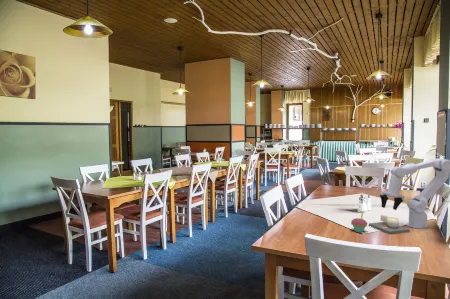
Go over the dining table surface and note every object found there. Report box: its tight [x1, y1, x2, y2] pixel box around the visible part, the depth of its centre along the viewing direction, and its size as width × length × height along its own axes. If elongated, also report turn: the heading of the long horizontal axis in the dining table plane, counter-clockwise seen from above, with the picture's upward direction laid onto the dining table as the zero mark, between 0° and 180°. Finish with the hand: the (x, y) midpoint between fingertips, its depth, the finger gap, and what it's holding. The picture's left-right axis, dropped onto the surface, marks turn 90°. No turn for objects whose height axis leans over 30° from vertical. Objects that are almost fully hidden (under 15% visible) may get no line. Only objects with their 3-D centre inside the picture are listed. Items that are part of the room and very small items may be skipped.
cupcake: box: [350, 211, 368, 233], centre depth 180 cm, size 9×8×12 cm
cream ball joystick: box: [380, 214, 400, 227], centre depth 185 cm, size 12×6×4 cm, turn 17°
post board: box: [368, 221, 411, 235], centre depth 184 cm, size 14×16×2 cm
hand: (388, 208), depth 189 cm, fingers open, 7 cm apart
